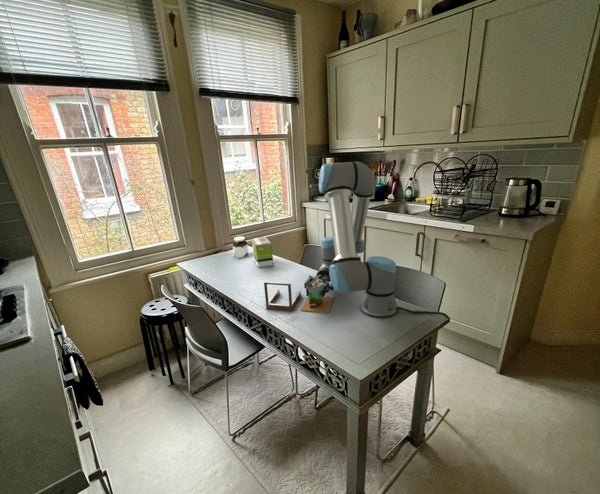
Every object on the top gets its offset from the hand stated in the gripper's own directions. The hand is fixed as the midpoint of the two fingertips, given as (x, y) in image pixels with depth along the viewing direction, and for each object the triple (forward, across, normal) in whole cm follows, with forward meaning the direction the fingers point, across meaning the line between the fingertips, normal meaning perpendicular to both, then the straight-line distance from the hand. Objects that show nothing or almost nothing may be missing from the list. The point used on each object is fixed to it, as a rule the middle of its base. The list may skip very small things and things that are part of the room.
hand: (315, 293), depth 137 cm
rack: (-5, +16, -8) cm, 18 cm away
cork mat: (-5, 0, -8) cm, 9 cm away
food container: (-5, 0, -7) cm, 9 cm away
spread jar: (-67, +67, -8) cm, 95 cm away
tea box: (-54, +46, -8) cm, 72 cm away
